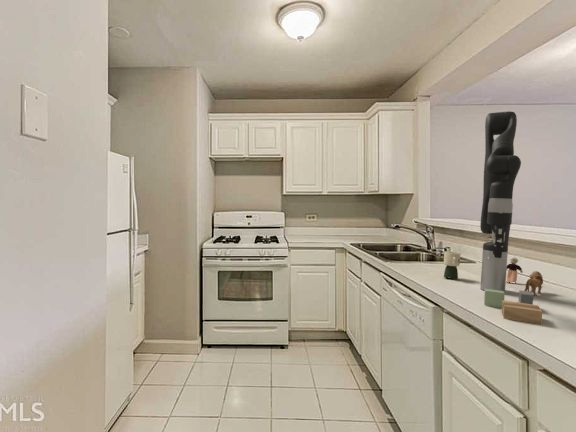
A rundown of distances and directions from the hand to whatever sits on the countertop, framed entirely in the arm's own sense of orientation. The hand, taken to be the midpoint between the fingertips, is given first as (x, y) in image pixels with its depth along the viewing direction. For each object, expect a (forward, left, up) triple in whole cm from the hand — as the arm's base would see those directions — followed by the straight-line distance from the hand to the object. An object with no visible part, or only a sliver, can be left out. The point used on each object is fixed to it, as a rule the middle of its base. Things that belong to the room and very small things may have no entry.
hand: (496, 256), depth 126 cm
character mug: (-42, -16, -18) cm, 49 cm away
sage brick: (0, 0, -18) cm, 18 cm away
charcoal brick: (-4, +10, -18) cm, 21 cm away
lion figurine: (-32, +16, -18) cm, 40 cm away
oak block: (+11, +7, -18) cm, 22 cm away
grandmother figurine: (-50, +10, -18) cm, 54 cm away
